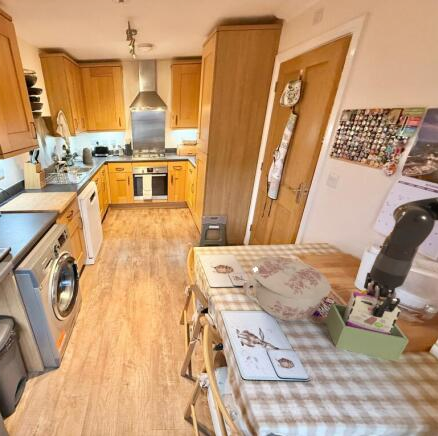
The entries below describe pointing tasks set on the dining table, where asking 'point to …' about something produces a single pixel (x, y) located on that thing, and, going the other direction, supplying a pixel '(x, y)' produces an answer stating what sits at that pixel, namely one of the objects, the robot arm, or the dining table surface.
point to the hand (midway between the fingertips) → (371, 309)
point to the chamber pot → (287, 287)
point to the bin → (364, 337)
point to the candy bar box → (368, 314)
